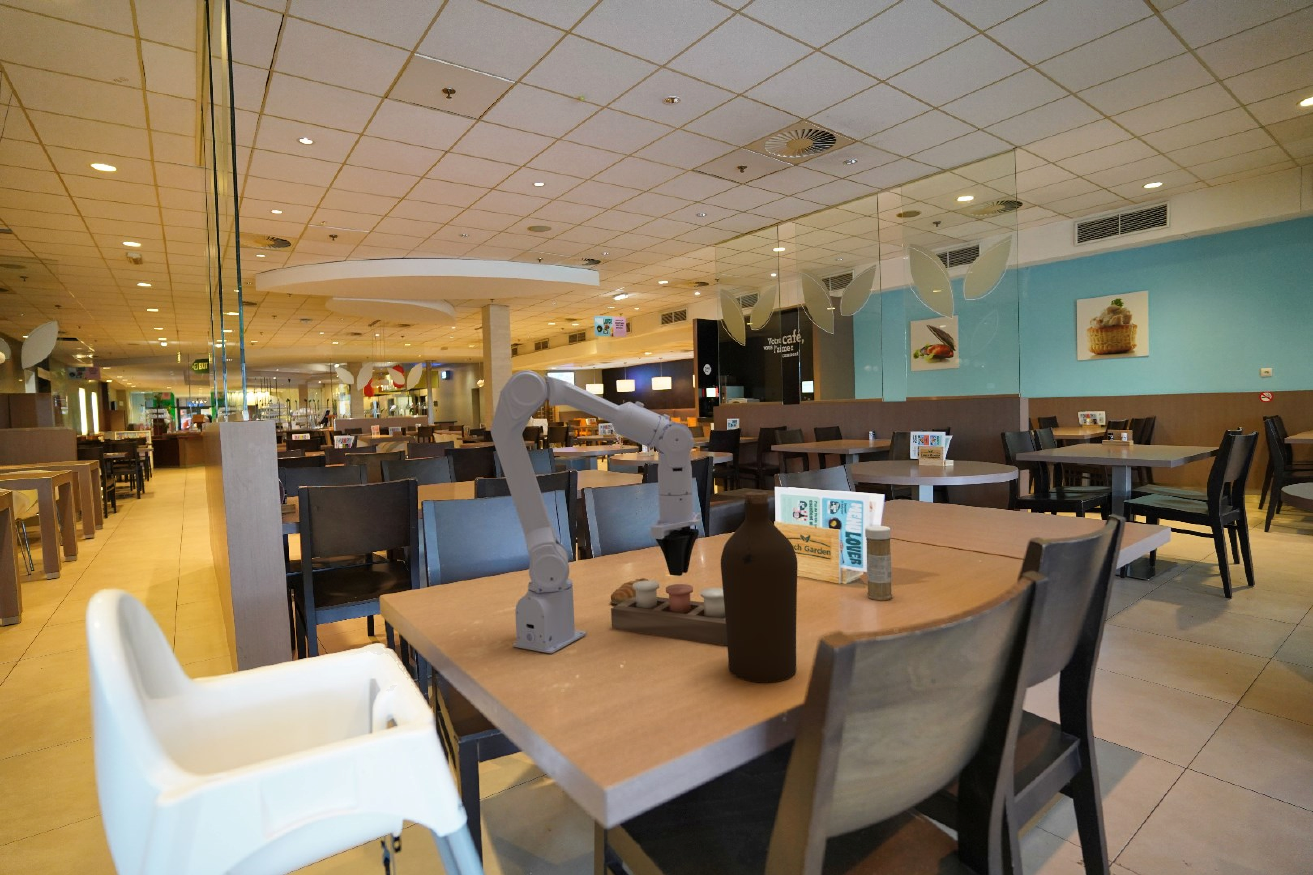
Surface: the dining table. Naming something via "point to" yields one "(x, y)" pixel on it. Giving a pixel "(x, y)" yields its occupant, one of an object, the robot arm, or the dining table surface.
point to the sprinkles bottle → (878, 562)
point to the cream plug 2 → (713, 602)
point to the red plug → (679, 598)
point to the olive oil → (760, 597)
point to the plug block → (669, 622)
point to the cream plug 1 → (646, 594)
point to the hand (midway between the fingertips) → (678, 573)
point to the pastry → (625, 592)
